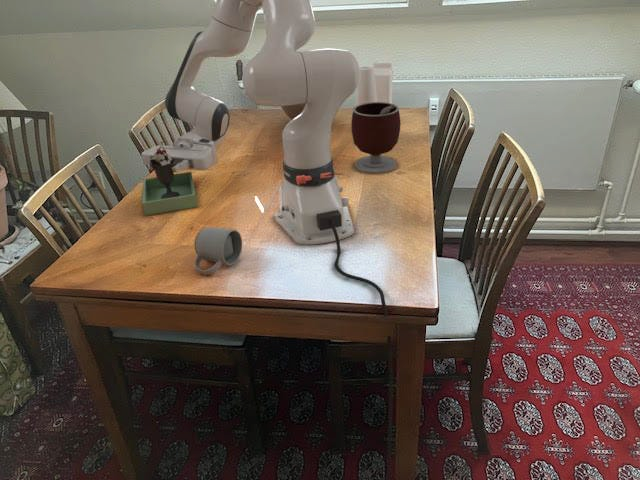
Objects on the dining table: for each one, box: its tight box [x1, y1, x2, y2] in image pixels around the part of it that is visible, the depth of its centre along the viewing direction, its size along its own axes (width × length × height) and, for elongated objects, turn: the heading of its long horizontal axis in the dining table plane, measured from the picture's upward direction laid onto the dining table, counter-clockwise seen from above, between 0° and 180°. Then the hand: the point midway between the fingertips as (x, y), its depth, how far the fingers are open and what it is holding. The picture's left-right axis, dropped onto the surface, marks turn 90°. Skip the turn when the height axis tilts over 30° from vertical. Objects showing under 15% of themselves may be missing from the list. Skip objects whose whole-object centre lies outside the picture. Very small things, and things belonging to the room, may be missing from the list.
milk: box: [373, 62, 393, 104], centre depth 180 cm, size 6×6×22 cm
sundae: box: [149, 141, 179, 199], centre depth 141 cm, size 7×7×15 cm
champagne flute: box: [355, 65, 377, 106], centre depth 167 cm, size 7×7×24 cm
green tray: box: [141, 171, 198, 216], centre depth 144 cm, size 16×13×4 cm
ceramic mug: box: [194, 226, 243, 276], centre depth 113 cm, size 11×8×8 cm
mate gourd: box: [351, 102, 401, 175], centre depth 151 cm, size 16×14×20 cm
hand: (162, 168), depth 139 cm, fingers closed on sundae, 6 cm apart
